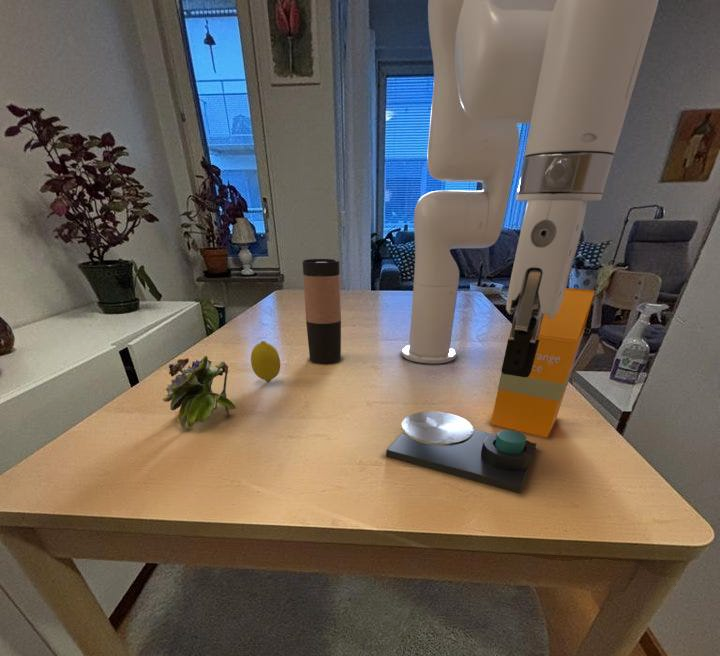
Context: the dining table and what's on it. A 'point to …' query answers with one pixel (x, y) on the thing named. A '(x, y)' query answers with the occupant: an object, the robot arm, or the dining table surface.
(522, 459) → the scale
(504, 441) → the tare button
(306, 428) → the dining table surface
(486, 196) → the robot arm
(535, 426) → the orange juice
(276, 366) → the lemon
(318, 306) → the travel mug
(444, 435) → the scale pan
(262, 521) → the dining table surface
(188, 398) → the purple flowering plant
